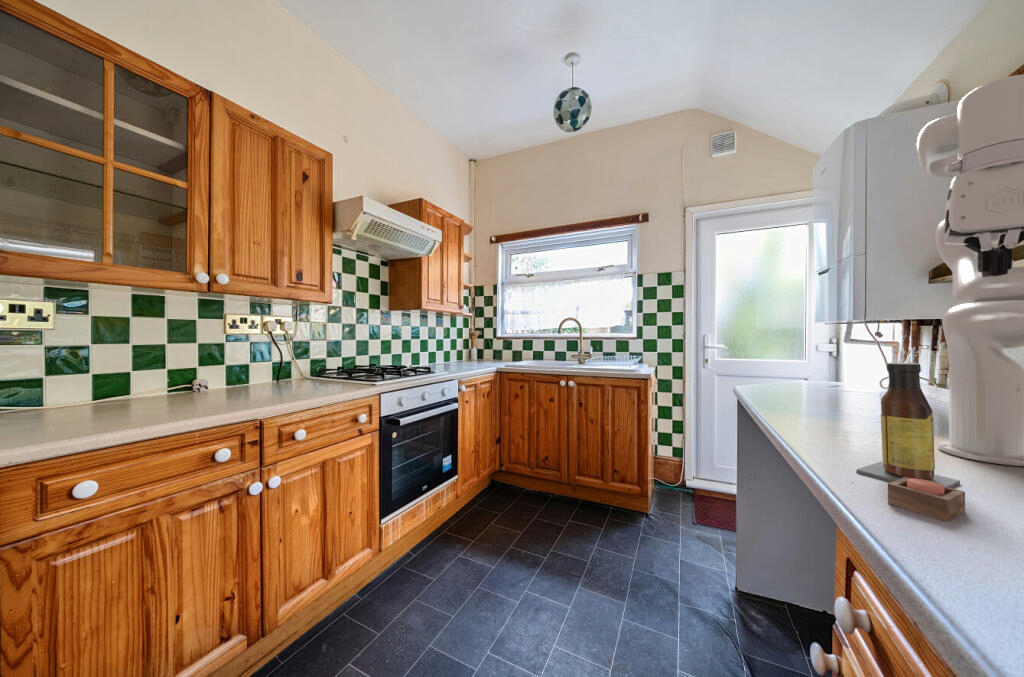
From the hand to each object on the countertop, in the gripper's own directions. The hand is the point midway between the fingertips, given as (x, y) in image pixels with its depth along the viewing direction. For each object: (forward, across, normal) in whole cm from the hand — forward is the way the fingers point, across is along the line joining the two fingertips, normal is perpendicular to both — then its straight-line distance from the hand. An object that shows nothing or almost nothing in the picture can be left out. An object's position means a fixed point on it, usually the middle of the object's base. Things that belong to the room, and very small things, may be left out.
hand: (994, 275), depth 58 cm
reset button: (+34, -11, -15) cm, 39 cm away
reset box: (+35, -12, -15) cm, 40 cm away
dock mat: (+35, -10, -2) cm, 37 cm away
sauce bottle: (+35, -10, -2) cm, 36 cm away
